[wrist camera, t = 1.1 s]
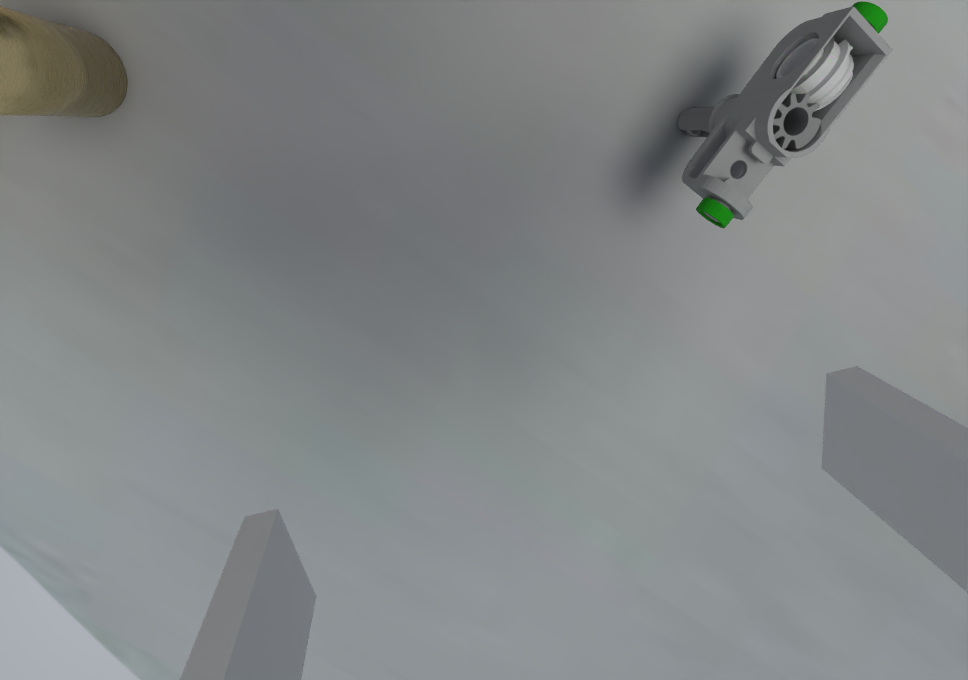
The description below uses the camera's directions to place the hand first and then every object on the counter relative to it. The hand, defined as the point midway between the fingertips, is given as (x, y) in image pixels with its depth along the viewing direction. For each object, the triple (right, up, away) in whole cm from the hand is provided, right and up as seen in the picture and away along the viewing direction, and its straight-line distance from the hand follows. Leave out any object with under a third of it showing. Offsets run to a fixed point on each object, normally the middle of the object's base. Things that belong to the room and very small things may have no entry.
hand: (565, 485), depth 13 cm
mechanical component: (+10, +16, +20) cm, 28 cm away
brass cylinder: (-22, +17, +15) cm, 32 cm away
